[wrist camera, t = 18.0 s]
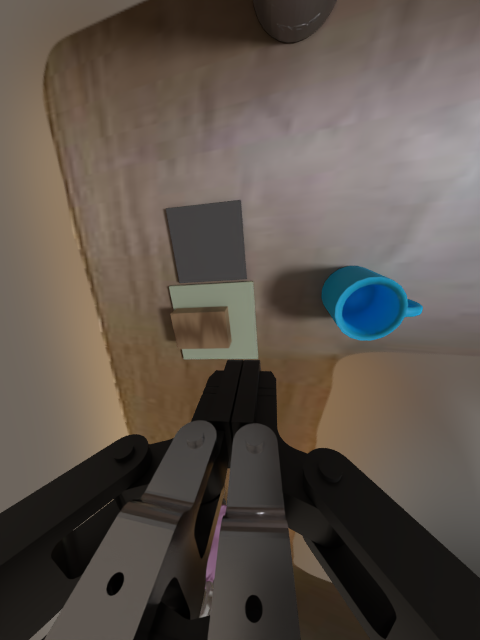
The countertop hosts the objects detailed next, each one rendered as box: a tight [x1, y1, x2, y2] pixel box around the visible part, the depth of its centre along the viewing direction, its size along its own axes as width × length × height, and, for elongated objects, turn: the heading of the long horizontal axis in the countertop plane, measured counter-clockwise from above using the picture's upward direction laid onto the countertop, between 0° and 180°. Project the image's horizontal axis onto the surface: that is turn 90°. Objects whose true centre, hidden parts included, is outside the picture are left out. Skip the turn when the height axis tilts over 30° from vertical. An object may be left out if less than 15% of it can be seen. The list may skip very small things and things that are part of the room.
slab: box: [170, 306, 232, 349], centre depth 38 cm, size 6×3×9 cm
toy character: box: [199, 498, 227, 618], centre depth 49 cm, size 12×10×20 cm
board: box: [169, 281, 258, 359], centre depth 39 cm, size 14×14×1 cm
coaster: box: [166, 200, 247, 283], centre depth 34 cm, size 11×11×1 cm
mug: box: [321, 266, 423, 340], centre depth 31 cm, size 12×8×8 cm
